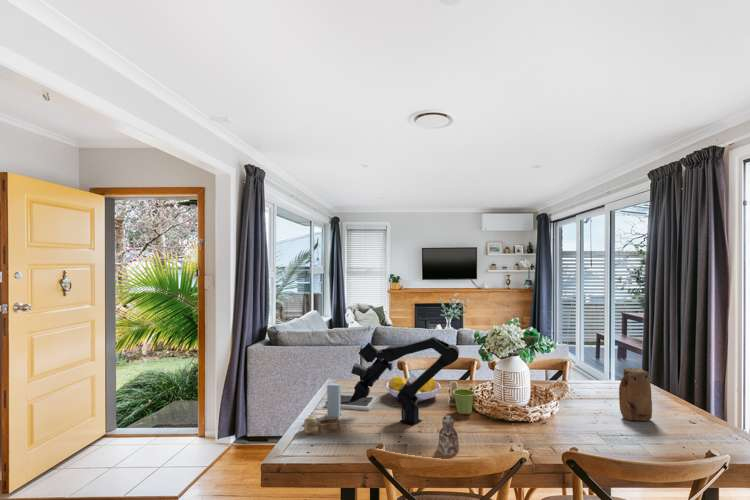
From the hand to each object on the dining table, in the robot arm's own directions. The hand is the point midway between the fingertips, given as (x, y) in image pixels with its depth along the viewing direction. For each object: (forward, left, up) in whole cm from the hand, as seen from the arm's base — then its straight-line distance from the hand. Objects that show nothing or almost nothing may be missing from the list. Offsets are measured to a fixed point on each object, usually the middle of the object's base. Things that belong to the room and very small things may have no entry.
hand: (352, 396), depth 175 cm
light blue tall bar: (+7, +5, -8) cm, 12 cm away
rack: (-1, +18, -8) cm, 20 cm away
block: (-90, -75, -9) cm, 117 cm away
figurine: (-48, 0, -9) cm, 48 cm away
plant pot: (-33, -36, -9) cm, 49 cm away
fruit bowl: (-4, -37, -9) cm, 38 cm away
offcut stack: (+1, +22, -7) cm, 23 cm away
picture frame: (+13, -12, -9) cm, 20 cm away
